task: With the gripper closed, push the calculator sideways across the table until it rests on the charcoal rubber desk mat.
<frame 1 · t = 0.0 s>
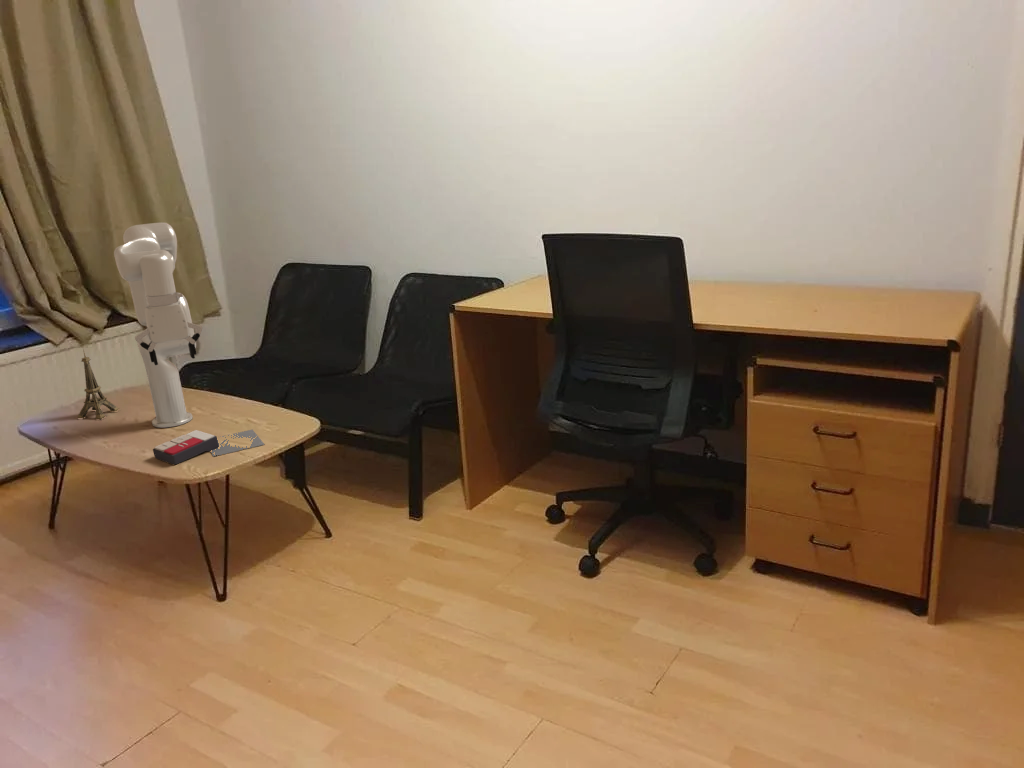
hand: (174, 360, 222), 31 cm above the table, tool pointing down, fingers open, 9 cm apart
desk mat: (233, 442, 247), on the table
eiffel tower: (98, 415, 282), on the table
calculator: (187, 453, 241), on the table, touching desk mat
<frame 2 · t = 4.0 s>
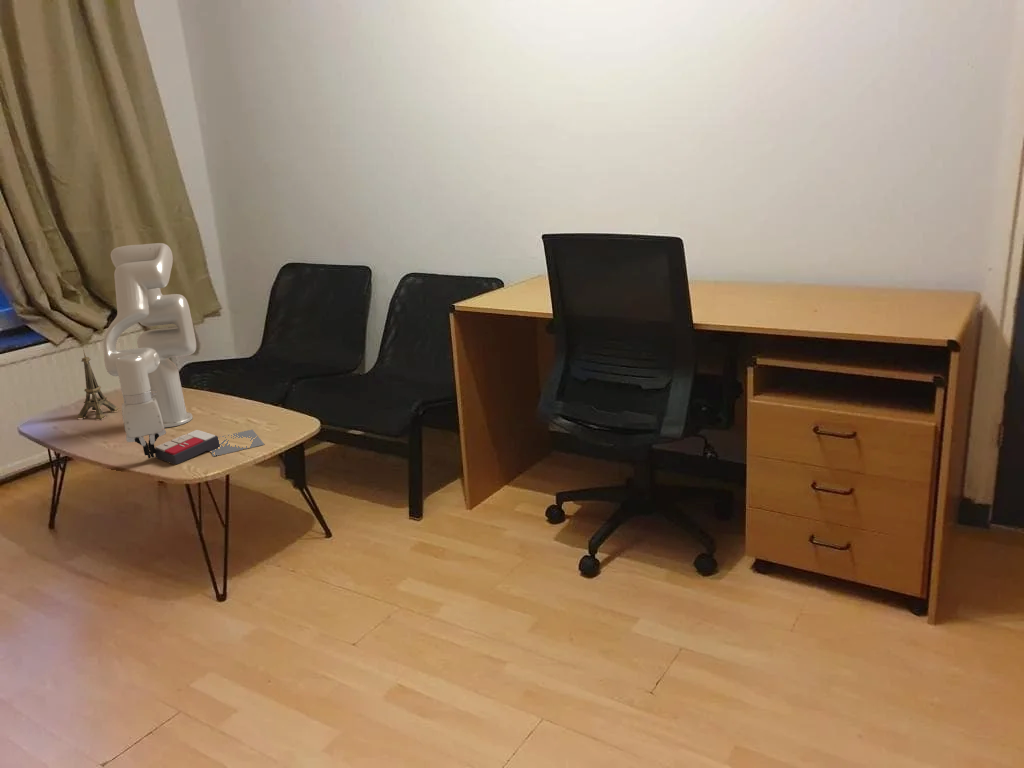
hand: (150, 456, 236), 2 cm above the table, tool pointing down, fingers closed
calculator: (188, 453, 241), on the table, touching desk mat, gripper
everything else where it was.
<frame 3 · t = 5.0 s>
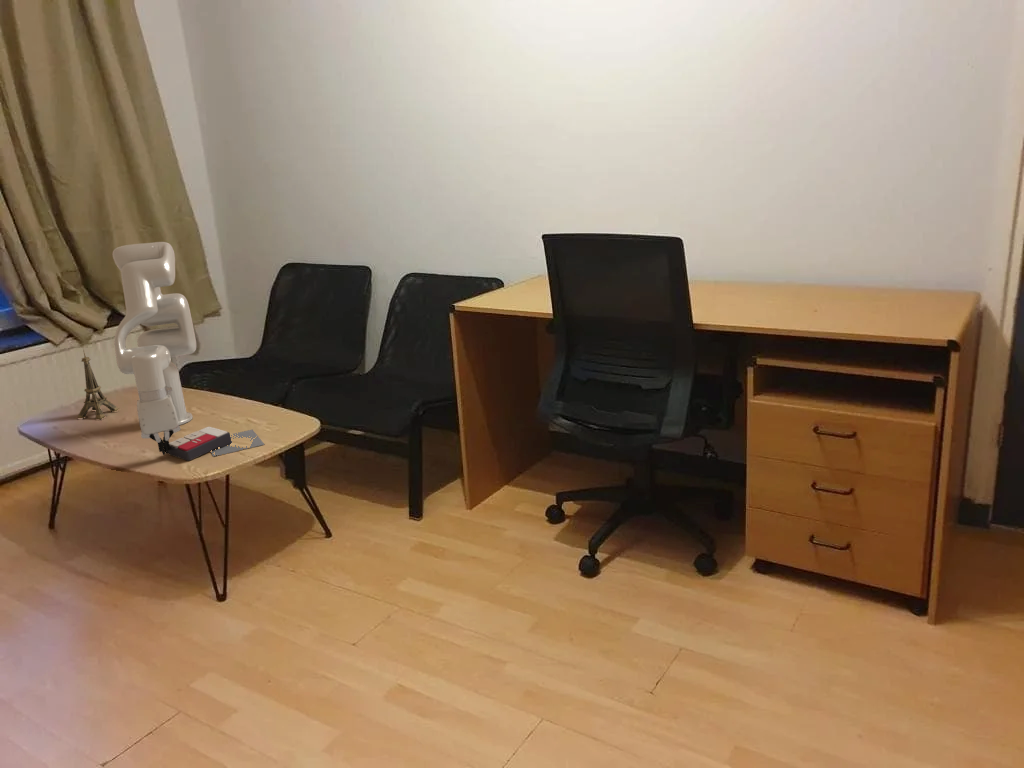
hand: (165, 452, 237), 2 cm above the table, tool pointing down, fingers closed
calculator: (200, 449, 243), on the table, touching desk mat, gripper
everything else where it was.
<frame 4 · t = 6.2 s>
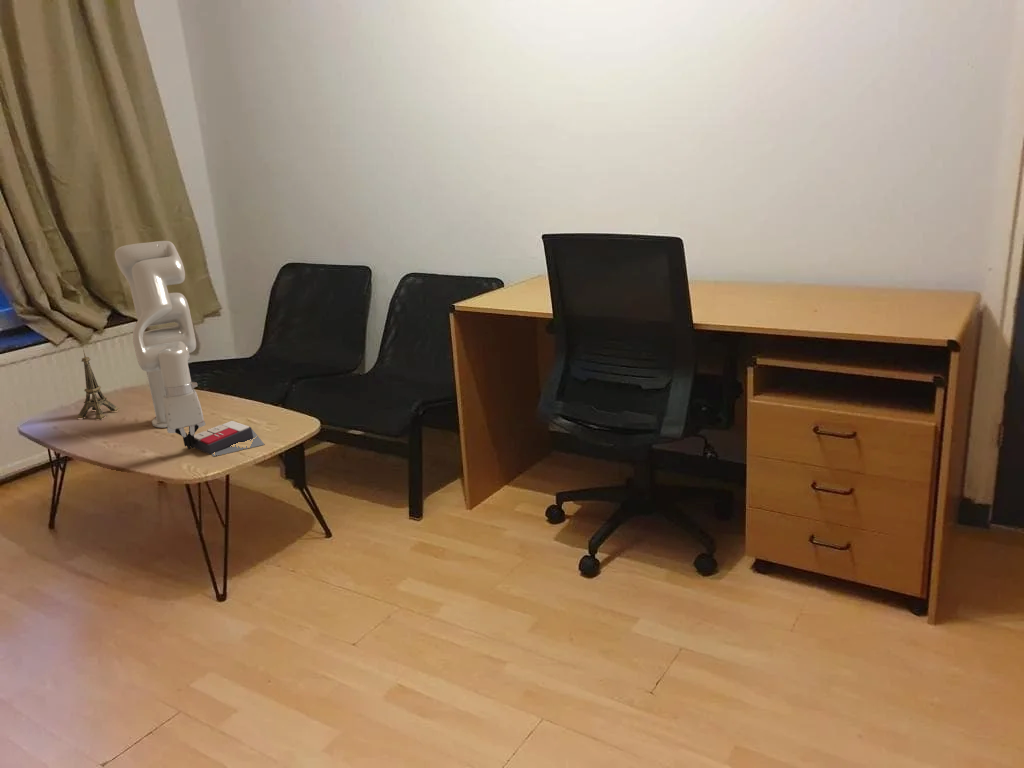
hand: (190, 447, 241), 2 cm above the table, tool pointing down, fingers closed
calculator: (222, 443, 247), resting on desk mat, touching gripper
everything else where it was.
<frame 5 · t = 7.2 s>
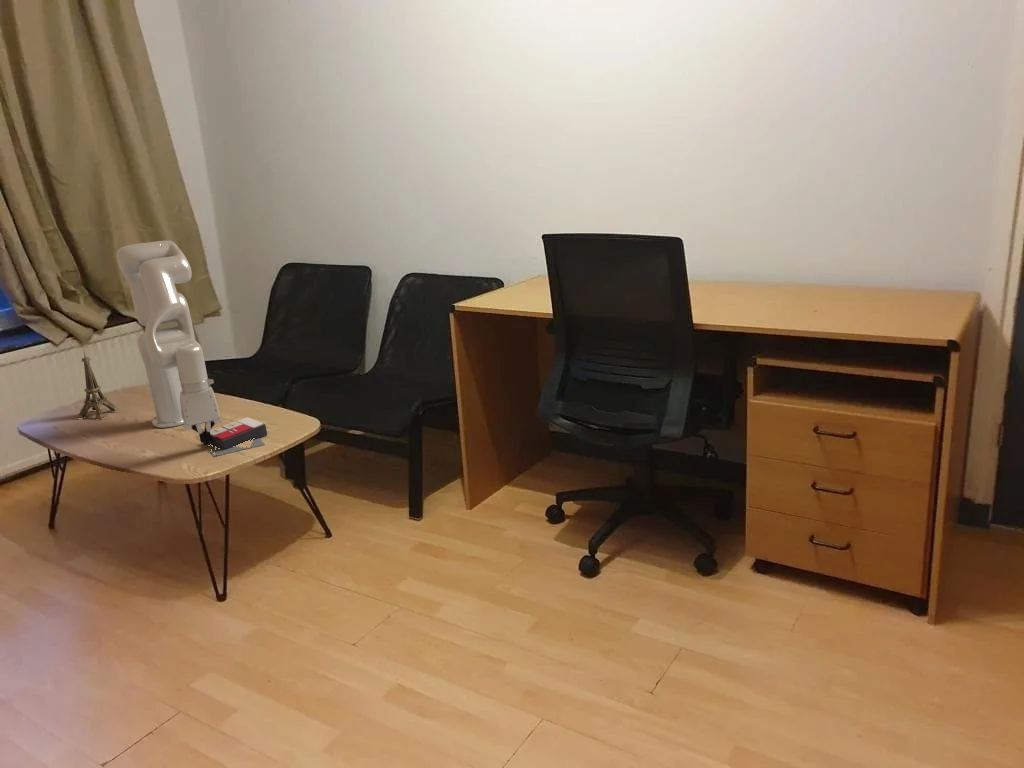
hand: (206, 443, 243), 2 cm above the table, tool pointing down, fingers closed
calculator: (237, 439, 249), resting on desk mat, touching gripper
everything else where it was.
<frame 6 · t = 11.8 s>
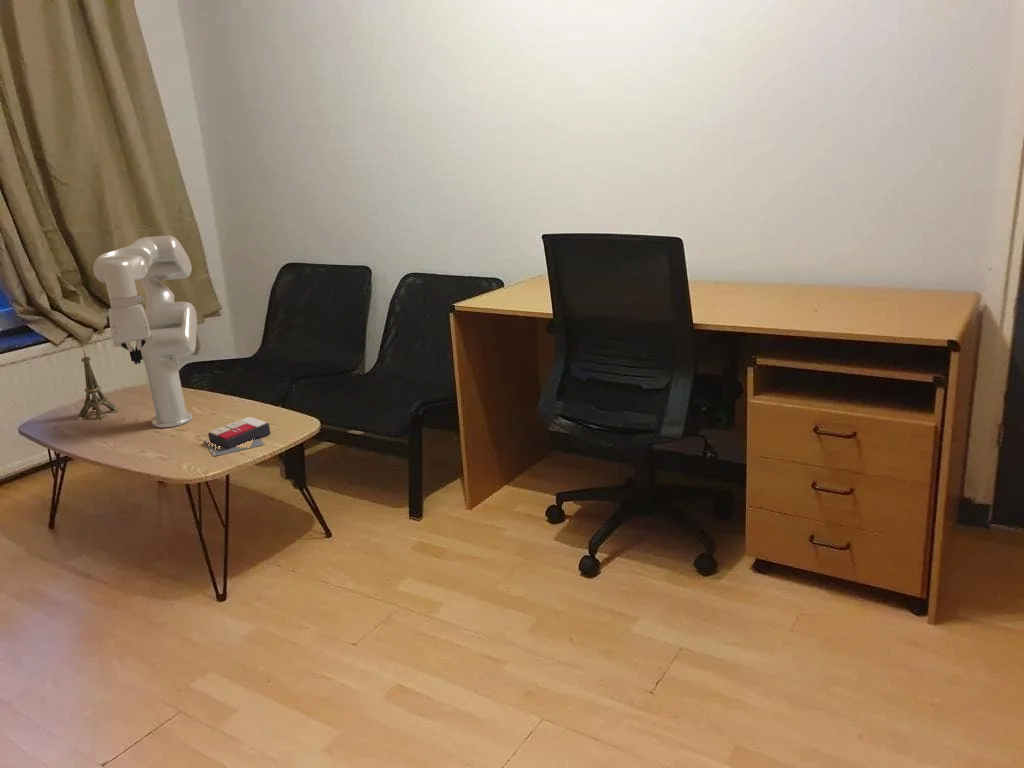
hand: (137, 362, 239), 27 cm above the table, tool pointing down, fingers closed
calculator: (240, 438, 250), resting on desk mat
everything else where it was.
at the end: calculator inside the target area on the desk mat (3.3 cm from its centre), point 0.0 cm above the desk mat's base; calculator moved 16.1 cm from its start; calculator tilted 0° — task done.
